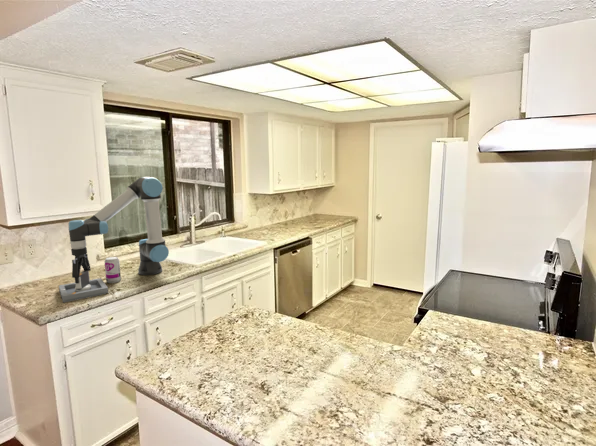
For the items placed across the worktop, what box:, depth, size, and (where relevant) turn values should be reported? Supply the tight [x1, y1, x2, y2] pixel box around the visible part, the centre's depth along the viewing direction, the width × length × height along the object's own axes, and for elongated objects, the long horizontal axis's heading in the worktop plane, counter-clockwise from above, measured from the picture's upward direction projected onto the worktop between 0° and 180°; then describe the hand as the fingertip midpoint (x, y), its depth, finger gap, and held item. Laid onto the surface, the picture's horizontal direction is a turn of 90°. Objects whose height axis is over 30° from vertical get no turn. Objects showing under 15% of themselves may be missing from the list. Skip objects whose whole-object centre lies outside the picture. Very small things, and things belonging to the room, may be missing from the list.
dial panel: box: [58, 277, 109, 304], centre depth 211 cm, size 22×22×4 cm
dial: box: [75, 270, 91, 292], centre depth 210 cm, size 10×8×10 cm
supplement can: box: [104, 256, 122, 284], centre depth 229 cm, size 8×8×15 cm
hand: (83, 285), depth 211 cm, fingers closed on dial, 10 cm apart
